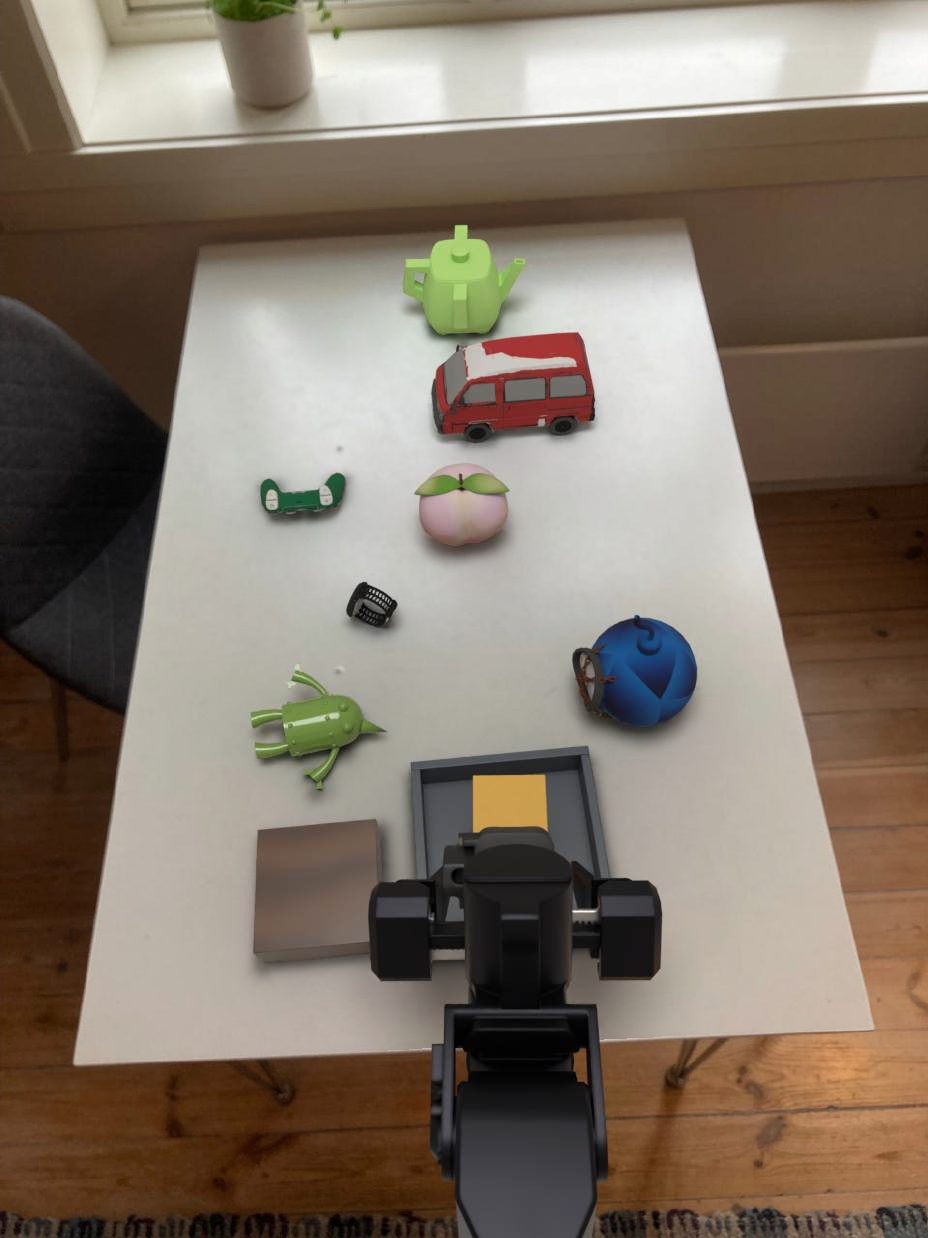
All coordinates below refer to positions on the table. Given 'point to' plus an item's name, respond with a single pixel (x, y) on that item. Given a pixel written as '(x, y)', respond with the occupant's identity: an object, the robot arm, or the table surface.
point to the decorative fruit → (462, 504)
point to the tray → (449, 782)
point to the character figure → (314, 725)
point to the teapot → (460, 284)
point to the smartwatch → (358, 602)
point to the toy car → (514, 386)
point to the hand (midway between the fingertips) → (511, 867)
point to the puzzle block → (509, 801)
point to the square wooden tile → (315, 889)
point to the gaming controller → (302, 496)
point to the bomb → (637, 672)
